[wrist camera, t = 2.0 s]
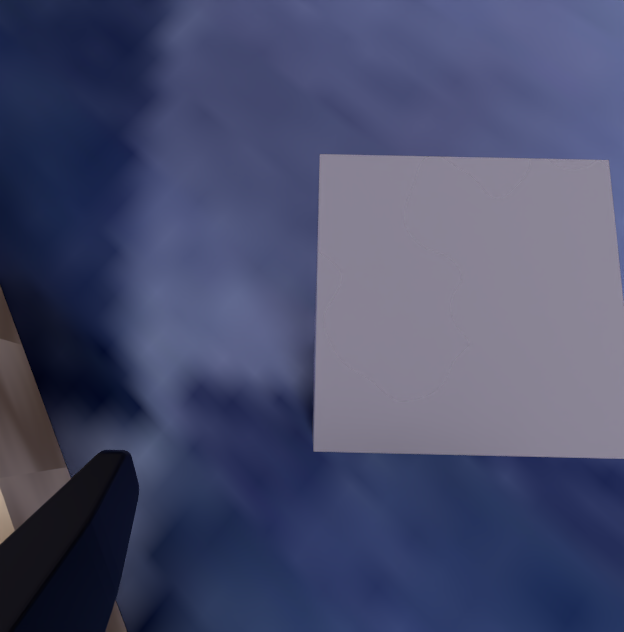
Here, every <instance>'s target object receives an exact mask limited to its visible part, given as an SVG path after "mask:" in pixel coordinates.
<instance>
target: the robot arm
mask: <svg viewBox="0 0 624 632" xmlns="http://www.w3.org/2000/svg"><path fill="white" fill-rule="evenodd" d="M138 495H139V484H138V480H137V476H136V472H135V468H134V464H133V460H132V457H131V454H130V453H129V452H128V451H125V450H104V451H101V452H100V453H98V454H97V455H96V456H95V457H94V458H93V459H92V460H91V461H90V462H88V463H87V464H86V465H85V466H84V467H83V468H82V469H81V470H80V471H79V472H78V473H77V474H75V475H74V476H73V477H72V478H71V479H70V480H69V481H68V482H67V483H66V484H65V485H64V486H63V487H61V488H60V489H59V490H58V491H57V492H56V493H55V494H54V495H53V496H52V497H51V498H50V499H48V500H47V501H46V502H45V503H44V504H43V505H42V506H41V507H40V508H39V509H38V510H37V511H36V512H34V513H33V514H32V515H31V516H30V517H29V518H28V519H27V520H26V521H25V522H24V523H23V524H21V525H20V526H19V527H18V528H17V529H16V530H15V531H14V532H13V533H12V534H11V535H10V536H9V537H7V538H6V539H5V540H4V541H3V542H2V543H1V544H0V632H105V631H106V628H107V625H108V622H109V619H110V616H111V613H112V610H113V606H114V603H115V600H116V596H117V593H118V589H119V584H120V580H121V576H122V571H123V566H124V562H125V557H126V552H127V548H128V543H129V539H130V534H131V529H132V525H133V520H134V515H135V511H136V506H137V501H138Z"/></svg>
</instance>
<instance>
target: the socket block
mask: <svg viewBox="0 0 624 632" xmlns="http://www.w3.org/2000/svg"><path fill="white" fill-rule="evenodd" d="M70 479H71V477H70V474H69V472H68V469H67V466H66V464H65V461H64V458H63V455H62V453H61V450H60V447H59V444H58V442H57V439H56V436H55V434H54V431H53V428H52V425H51V423H50V420H49V417H48V414H47V412H46V409H45V406H44V404H43V401H42V398H41V395H40V393H39V390H38V387H37V384H36V382H35V379H34V376H33V374H32V371H31V368H30V365H29V363H28V360H27V357H26V354H25V352H24V349H23V346H22V344H21V341H20V338H19V335H18V333H17V330H16V327H15V324H14V322H13V319H12V316H11V314H10V311H9V308H8V305H7V303H6V300H5V297H4V294H3V292H2V289H1V286H0V544H1V543H2V542H3V541H4V540H5V539H6V538H7V537H9V536H10V535H11V534H12V533H13V532H14V531H15V530H16V529H17V528H18V527H19V526H20V525H21V524H23V523H24V522H25V521H26V520H27V519H28V518H29V517H30V516H31V515H32V514H33V513H34V512H36V511H37V510H38V509H39V508H40V507H41V506H42V505H43V504H44V503H45V502H46V501H47V500H48V499H50V498H51V497H52V496H53V495H54V494H55V493H56V492H57V491H58V490H59V489H60V488H61V487H63V486H64V485H65V484H66V483H67V482H68V481H69V480H70ZM105 632H127V630H126V627H125V624H124V622H123V619H122V616H121V614H120V611H119V608H118V605H117V603H116V600H115V603H114V606H113V610H112V613H111V616H110V619H109V622H108V625H107V628H106V631H105Z"/></svg>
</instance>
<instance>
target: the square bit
mask: <svg viewBox="0 0 624 632" xmlns="http://www.w3.org/2000/svg"><path fill="white" fill-rule="evenodd" d="M312 437H313V451H314V452H357V453H400V454H443V455H487V456H530V457H574V458H617V459H624V303H623V294H622V284H621V274H620V265H619V255H618V245H617V235H616V226H615V216H614V206H613V197H612V187H611V177H610V168H609V160H578V159H530V158H481V157H433V156H384V155H336V154H320V165H319V199H318V233H317V267H316V302H315V336H314V380H313V426H312Z"/></svg>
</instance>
